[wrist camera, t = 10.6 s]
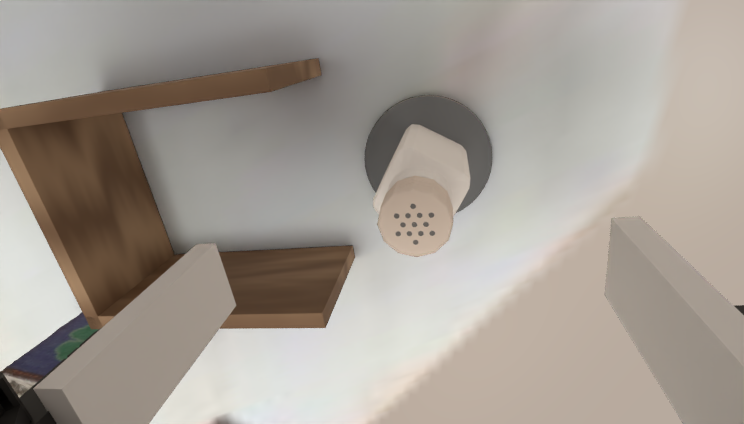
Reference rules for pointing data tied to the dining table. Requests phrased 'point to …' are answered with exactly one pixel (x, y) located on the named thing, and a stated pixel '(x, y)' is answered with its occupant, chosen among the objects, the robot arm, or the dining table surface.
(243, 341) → the dining table surface
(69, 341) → the flask
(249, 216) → the dining table surface
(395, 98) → the dining table surface
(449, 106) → the slate coaster
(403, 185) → the pepper shaker
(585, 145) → the dining table surface
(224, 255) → the wooden u-shaped frame
